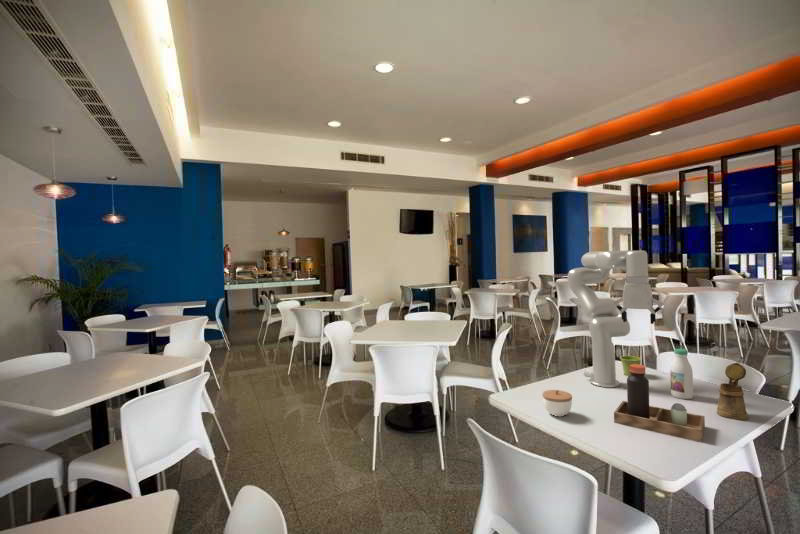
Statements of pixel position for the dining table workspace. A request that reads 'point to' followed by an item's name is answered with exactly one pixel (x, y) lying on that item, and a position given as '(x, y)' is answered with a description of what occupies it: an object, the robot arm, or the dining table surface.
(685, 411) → the shaker
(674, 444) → the dining table surface
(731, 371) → the burlap money sack
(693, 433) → the caddy
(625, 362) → the plant pot
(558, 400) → the lidded jar
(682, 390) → the milk bottle
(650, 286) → the robot arm
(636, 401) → the vinegar
